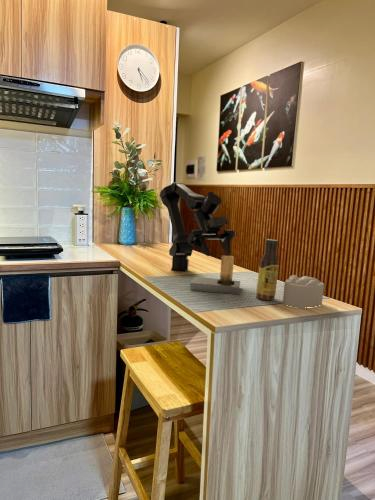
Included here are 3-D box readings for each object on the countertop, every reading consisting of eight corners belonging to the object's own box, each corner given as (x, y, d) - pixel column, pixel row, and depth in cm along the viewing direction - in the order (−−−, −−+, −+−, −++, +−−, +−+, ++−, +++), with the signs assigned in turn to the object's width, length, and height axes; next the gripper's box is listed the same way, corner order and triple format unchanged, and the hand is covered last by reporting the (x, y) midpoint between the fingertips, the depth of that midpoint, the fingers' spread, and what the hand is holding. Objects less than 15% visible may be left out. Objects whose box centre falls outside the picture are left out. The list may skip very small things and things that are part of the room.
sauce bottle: (263, 301, 120) (269, 241, 117) (252, 296, 125) (257, 238, 122) (279, 300, 123) (285, 240, 120) (267, 295, 128) (272, 238, 125)
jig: (190, 289, 130) (190, 282, 129) (194, 283, 139) (194, 276, 139) (238, 294, 127) (239, 287, 127) (239, 287, 137) (240, 281, 136)
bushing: (217, 289, 132) (219, 256, 130) (221, 287, 136) (224, 254, 134) (228, 291, 130) (231, 258, 128) (233, 289, 134) (235, 256, 132)
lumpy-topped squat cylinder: (326, 305, 120) (329, 279, 119) (300, 310, 113) (303, 283, 111) (300, 297, 128) (302, 272, 127) (274, 301, 121) (276, 275, 120)
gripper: (193, 207, 133) (207, 242, 126) (235, 209, 142) (250, 242, 135) (181, 226, 141) (194, 260, 134) (221, 227, 150) (235, 259, 143)
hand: (219, 255), depth 136 cm, fingers open, 9 cm apart
